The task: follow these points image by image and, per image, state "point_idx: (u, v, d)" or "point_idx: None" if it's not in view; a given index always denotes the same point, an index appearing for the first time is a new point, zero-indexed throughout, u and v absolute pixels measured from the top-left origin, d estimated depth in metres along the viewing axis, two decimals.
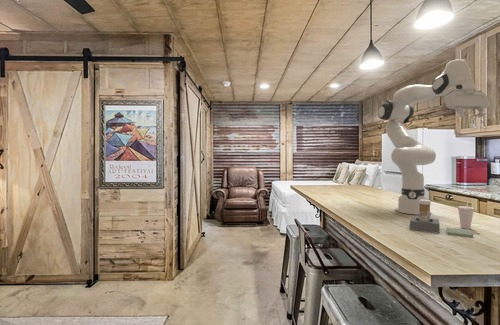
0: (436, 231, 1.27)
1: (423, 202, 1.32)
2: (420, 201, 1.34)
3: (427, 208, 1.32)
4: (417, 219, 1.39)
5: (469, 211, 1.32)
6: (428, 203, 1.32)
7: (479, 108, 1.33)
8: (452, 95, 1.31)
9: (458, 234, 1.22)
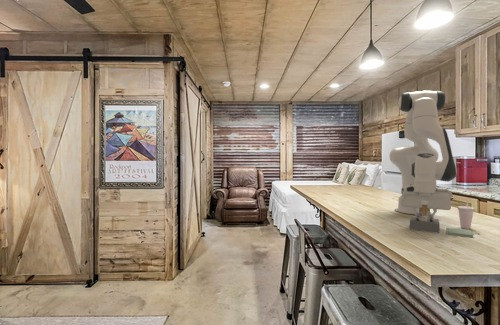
0: (436, 231, 1.27)
1: (423, 202, 1.32)
2: None
3: (427, 208, 1.32)
4: (417, 219, 1.39)
5: (469, 211, 1.32)
6: None
7: (433, 209, 1.32)
8: (401, 196, 1.37)
9: (458, 234, 1.22)
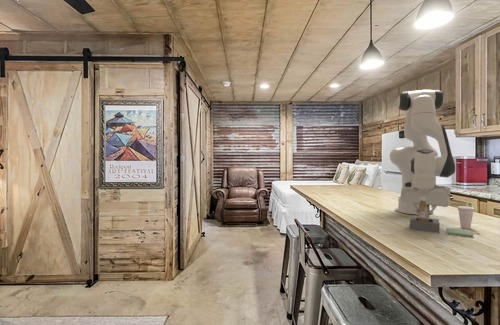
0: (436, 231, 1.27)
1: (421, 198, 1.33)
2: (419, 197, 1.35)
3: (425, 204, 1.32)
4: (417, 219, 1.39)
5: (469, 211, 1.32)
6: None
7: None
8: (401, 191, 1.40)
9: (458, 234, 1.22)
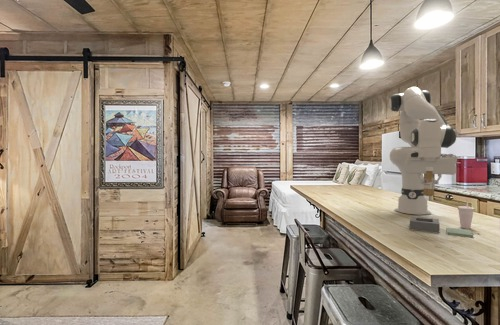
0: (436, 231, 1.27)
1: (427, 168, 1.31)
2: None
3: (432, 174, 1.30)
4: (417, 219, 1.39)
5: (469, 211, 1.32)
6: None
7: None
8: (406, 163, 1.35)
9: (458, 234, 1.22)
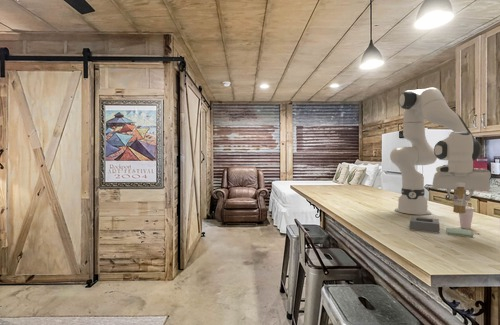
0: (436, 231, 1.27)
1: (459, 184, 1.23)
2: None
3: (463, 190, 1.23)
4: (417, 219, 1.39)
5: (469, 211, 1.32)
6: (464, 185, 1.23)
7: (469, 190, 1.23)
8: (434, 177, 1.28)
9: (458, 234, 1.22)
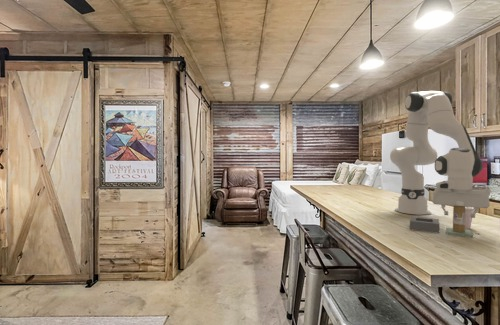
0: (436, 231, 1.27)
1: (458, 203, 1.24)
2: None
3: (463, 209, 1.24)
4: (417, 219, 1.39)
5: (469, 211, 1.32)
6: (463, 204, 1.23)
7: (474, 207, 1.23)
8: (434, 193, 1.29)
9: (458, 234, 1.22)
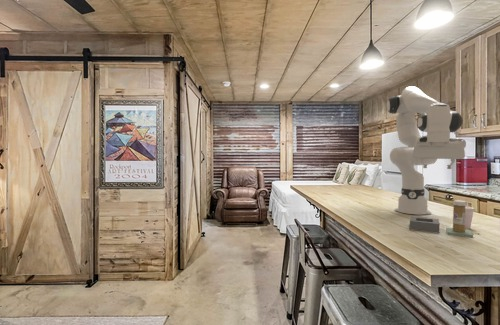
0: (436, 231, 1.27)
1: (458, 203, 1.24)
2: (454, 202, 1.25)
3: (463, 209, 1.24)
4: (417, 219, 1.39)
5: (469, 211, 1.32)
6: (464, 204, 1.23)
7: None
8: (414, 147, 1.35)
9: (458, 234, 1.22)
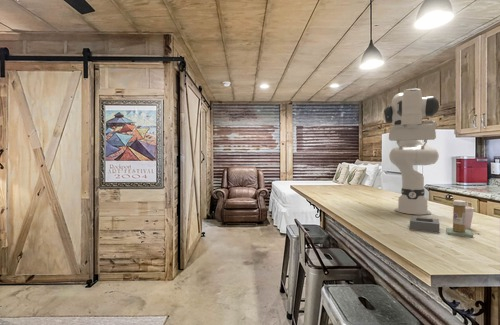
0: (436, 231, 1.27)
1: (458, 203, 1.24)
2: (454, 202, 1.25)
3: (463, 209, 1.24)
4: (417, 219, 1.39)
5: (469, 211, 1.32)
6: (464, 204, 1.23)
7: None
8: (390, 130, 1.44)
9: (458, 234, 1.22)
